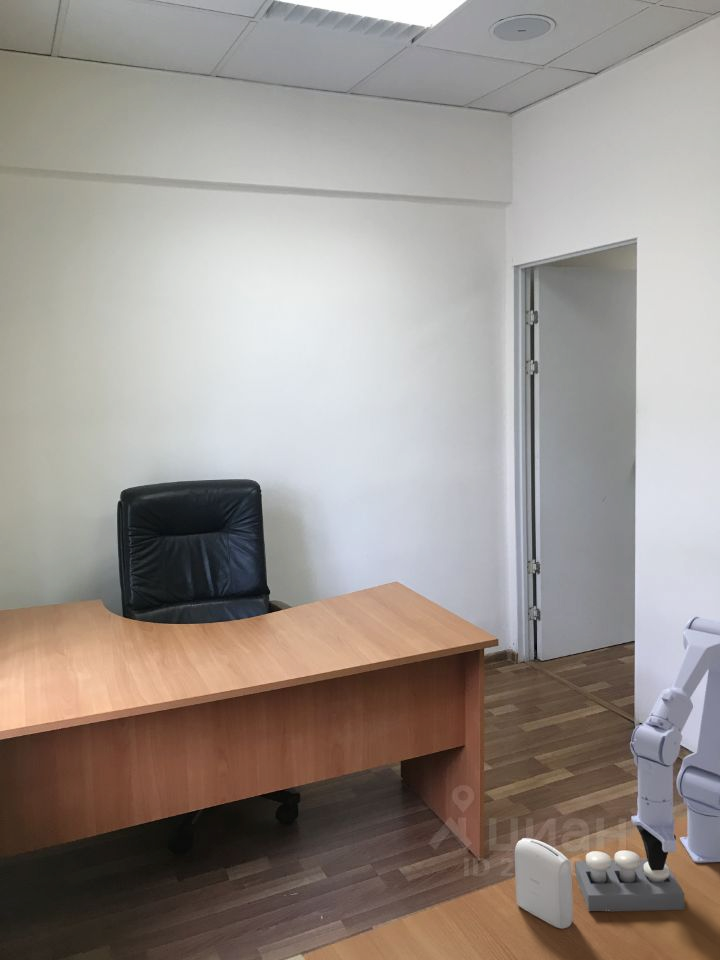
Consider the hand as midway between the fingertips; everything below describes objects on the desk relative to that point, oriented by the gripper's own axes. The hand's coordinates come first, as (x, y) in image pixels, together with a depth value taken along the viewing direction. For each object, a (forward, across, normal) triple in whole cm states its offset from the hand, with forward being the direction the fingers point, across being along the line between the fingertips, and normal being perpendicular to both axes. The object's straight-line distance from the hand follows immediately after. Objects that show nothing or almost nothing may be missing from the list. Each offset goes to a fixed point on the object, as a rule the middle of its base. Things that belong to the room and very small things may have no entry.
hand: (656, 868), depth 142 cm
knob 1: (+2, 0, -10) cm, 10 cm away
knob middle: (+2, 0, -5) cm, 5 cm away
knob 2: (+4, 0, 0) cm, 4 cm away
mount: (+4, 0, -5) cm, 7 cm away
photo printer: (+5, +5, -20) cm, 22 cm away
